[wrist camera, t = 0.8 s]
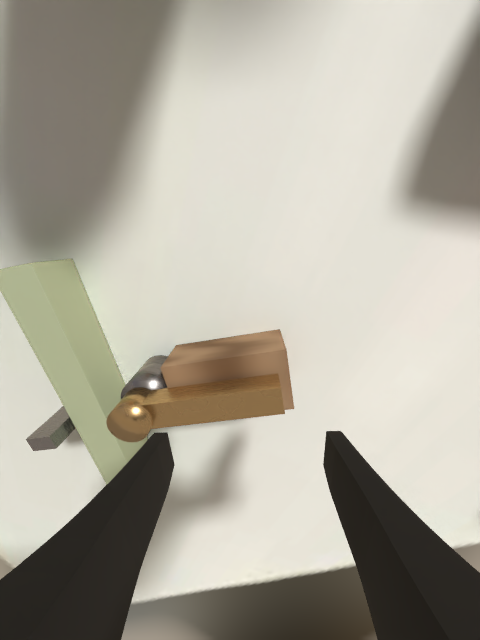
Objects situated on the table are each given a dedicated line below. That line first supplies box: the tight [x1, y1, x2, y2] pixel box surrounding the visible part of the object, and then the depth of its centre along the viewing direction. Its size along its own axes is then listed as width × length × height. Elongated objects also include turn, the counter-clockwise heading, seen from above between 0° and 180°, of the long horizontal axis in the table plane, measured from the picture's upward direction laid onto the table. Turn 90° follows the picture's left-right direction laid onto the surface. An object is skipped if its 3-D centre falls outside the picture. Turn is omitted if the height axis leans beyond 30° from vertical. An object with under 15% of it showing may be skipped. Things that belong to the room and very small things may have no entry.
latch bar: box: [106, 373, 285, 442], centre depth 15 cm, size 12×3×2 cm, turn 101°
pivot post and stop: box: [26, 355, 168, 451], centre depth 18 cm, size 11×4×5 cm, turn 100°
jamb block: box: [160, 330, 294, 410], centre depth 18 cm, size 9×5×4 cm, turn 101°
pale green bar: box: [0, 259, 148, 484], centre depth 19 cm, size 3×22×3 cm, turn 10°
